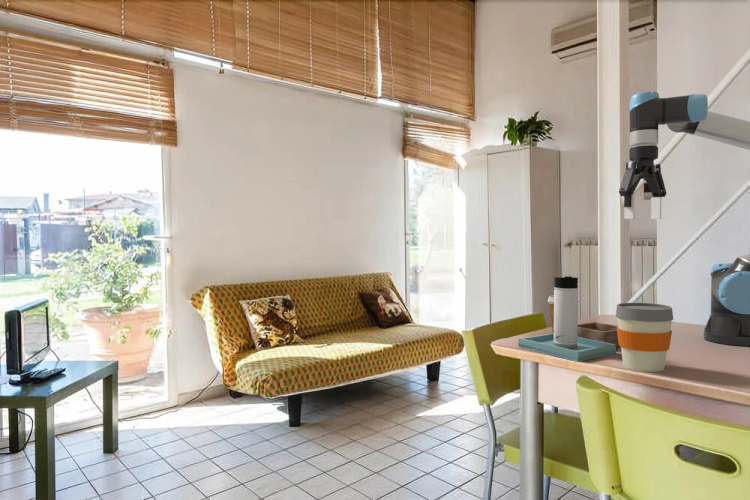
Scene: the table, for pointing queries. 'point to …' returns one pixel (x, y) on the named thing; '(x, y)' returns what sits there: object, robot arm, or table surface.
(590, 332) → the brown wooden crate
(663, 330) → the reusable coffee cup
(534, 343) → the tray
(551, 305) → the disposable coffee cup
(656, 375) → the table surface
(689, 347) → the table surface
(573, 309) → the travel mug
